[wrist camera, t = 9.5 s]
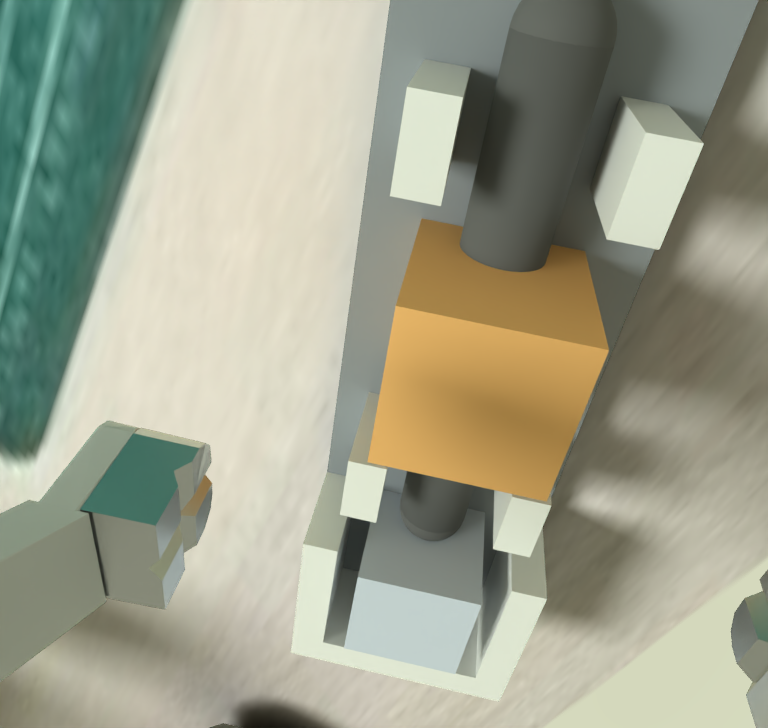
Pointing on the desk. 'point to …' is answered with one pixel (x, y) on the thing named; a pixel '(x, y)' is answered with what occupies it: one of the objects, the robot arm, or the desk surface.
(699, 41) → the grey fixture with posts
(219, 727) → the black yellow curved piece
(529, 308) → the orange cube on rod
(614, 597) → the desk surface
